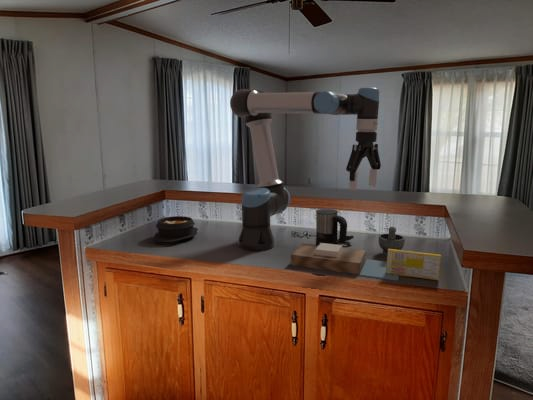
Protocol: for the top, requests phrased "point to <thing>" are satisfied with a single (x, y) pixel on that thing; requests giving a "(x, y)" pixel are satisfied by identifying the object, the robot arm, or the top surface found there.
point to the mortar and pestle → (391, 241)
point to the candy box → (413, 264)
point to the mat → (377, 270)
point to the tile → (328, 250)
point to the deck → (329, 259)
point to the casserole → (174, 229)
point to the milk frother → (330, 227)
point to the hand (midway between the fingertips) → (362, 187)
